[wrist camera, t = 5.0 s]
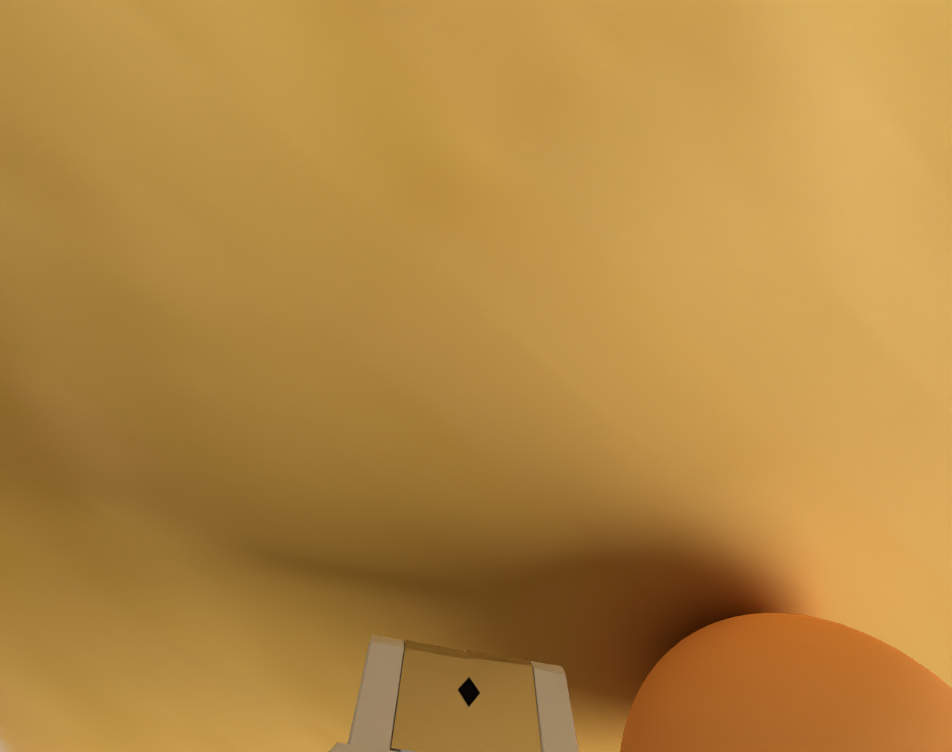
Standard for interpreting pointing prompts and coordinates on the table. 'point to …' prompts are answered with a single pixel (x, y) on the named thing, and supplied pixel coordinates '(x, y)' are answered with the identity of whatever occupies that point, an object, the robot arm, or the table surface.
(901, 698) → the ball
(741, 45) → the table surface
